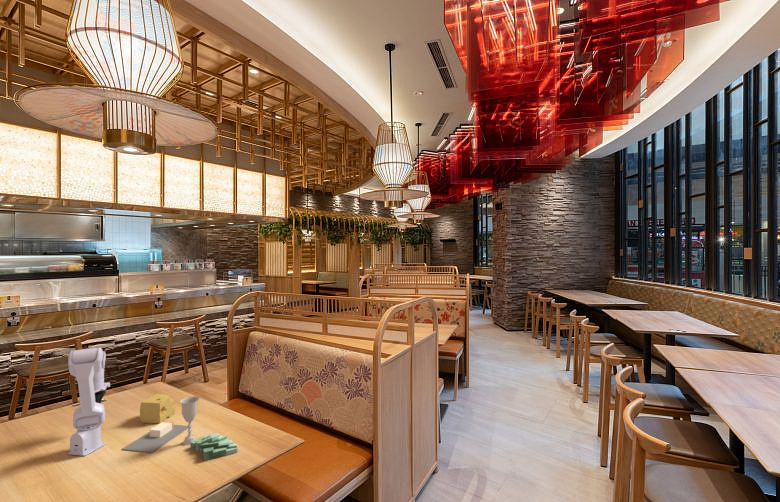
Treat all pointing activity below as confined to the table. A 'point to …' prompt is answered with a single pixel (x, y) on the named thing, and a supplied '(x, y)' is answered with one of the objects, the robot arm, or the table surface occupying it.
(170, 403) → the cheese
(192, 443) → the money
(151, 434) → the cream block
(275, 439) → the table surface
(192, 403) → the chalice
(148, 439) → the slate mat
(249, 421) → the table surface
